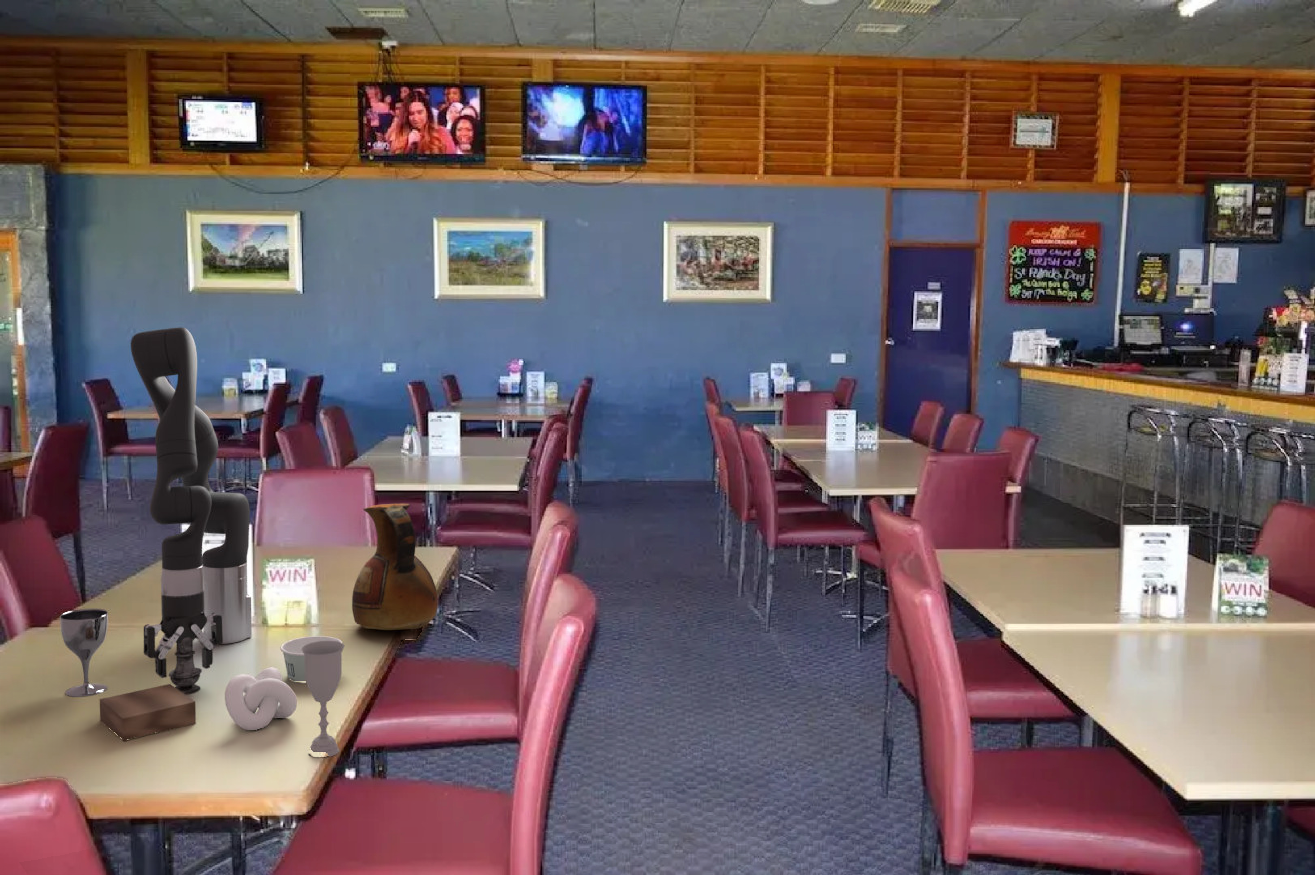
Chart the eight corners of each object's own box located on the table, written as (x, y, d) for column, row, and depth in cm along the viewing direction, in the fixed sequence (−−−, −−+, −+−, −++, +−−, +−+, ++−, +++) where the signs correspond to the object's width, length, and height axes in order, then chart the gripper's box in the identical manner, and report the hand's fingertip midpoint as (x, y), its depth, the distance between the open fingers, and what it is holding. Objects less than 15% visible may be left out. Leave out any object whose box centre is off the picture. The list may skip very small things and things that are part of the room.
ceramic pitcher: (411, 611, 255) (411, 493, 252) (453, 630, 240) (454, 505, 237) (337, 625, 242) (336, 501, 239) (377, 646, 227) (377, 514, 224)
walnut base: (170, 704, 190) (169, 684, 189) (195, 723, 181) (195, 701, 181) (100, 721, 181) (99, 699, 181) (123, 741, 173) (122, 718, 172)
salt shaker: (189, 696, 194) (187, 635, 193) (162, 693, 195) (160, 632, 194) (208, 686, 200) (207, 626, 198) (182, 683, 201) (180, 624, 200)
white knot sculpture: (250, 742, 174) (250, 691, 173) (207, 726, 180) (206, 677, 180) (305, 721, 184) (304, 673, 183) (262, 707, 190) (261, 660, 189)
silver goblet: (61, 700, 190) (58, 622, 189) (63, 686, 198) (61, 611, 196) (109, 694, 194) (107, 617, 193) (110, 680, 201) (108, 606, 200)
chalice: (308, 743, 174) (307, 640, 172) (349, 742, 175) (348, 640, 173) (297, 761, 167) (296, 654, 165) (339, 760, 168) (339, 654, 166)
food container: (354, 676, 208) (353, 645, 207) (298, 690, 199) (298, 658, 198) (324, 662, 216) (324, 632, 215) (269, 675, 207) (269, 644, 206)
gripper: (212, 580, 203) (214, 659, 205) (136, 591, 193) (138, 675, 194) (228, 587, 198) (229, 669, 199) (150, 599, 188) (152, 685, 189)
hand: (184, 672), depth 197 cm, fingers open, 7 cm apart
